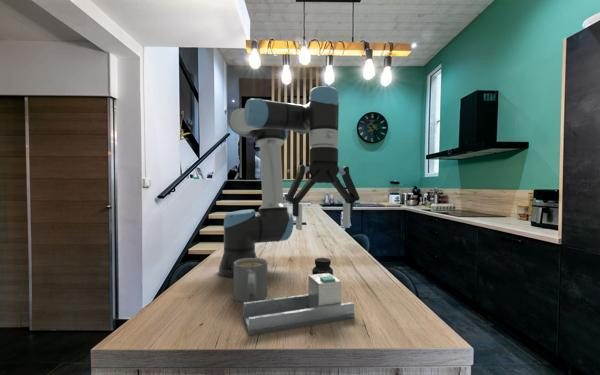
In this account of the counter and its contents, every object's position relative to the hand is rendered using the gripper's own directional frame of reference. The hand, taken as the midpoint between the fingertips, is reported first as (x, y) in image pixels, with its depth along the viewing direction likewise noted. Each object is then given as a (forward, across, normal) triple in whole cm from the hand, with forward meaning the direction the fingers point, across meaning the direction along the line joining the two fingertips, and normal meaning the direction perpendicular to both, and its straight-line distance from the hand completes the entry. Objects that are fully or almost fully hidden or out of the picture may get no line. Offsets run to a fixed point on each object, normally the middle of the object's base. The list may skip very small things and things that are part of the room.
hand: (323, 228), depth 75 cm
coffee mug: (+22, -17, +14) cm, 31 cm away
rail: (+22, -7, -2) cm, 23 cm away
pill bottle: (+22, +3, +8) cm, 24 cm away
